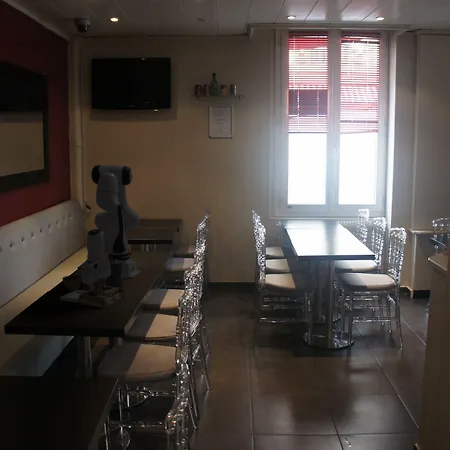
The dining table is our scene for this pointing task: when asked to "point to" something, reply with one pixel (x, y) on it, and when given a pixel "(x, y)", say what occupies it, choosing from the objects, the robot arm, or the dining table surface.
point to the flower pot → (72, 282)
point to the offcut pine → (107, 293)
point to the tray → (72, 296)
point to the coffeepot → (115, 273)
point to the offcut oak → (114, 291)
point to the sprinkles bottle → (98, 286)
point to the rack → (100, 298)
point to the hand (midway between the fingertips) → (97, 288)
